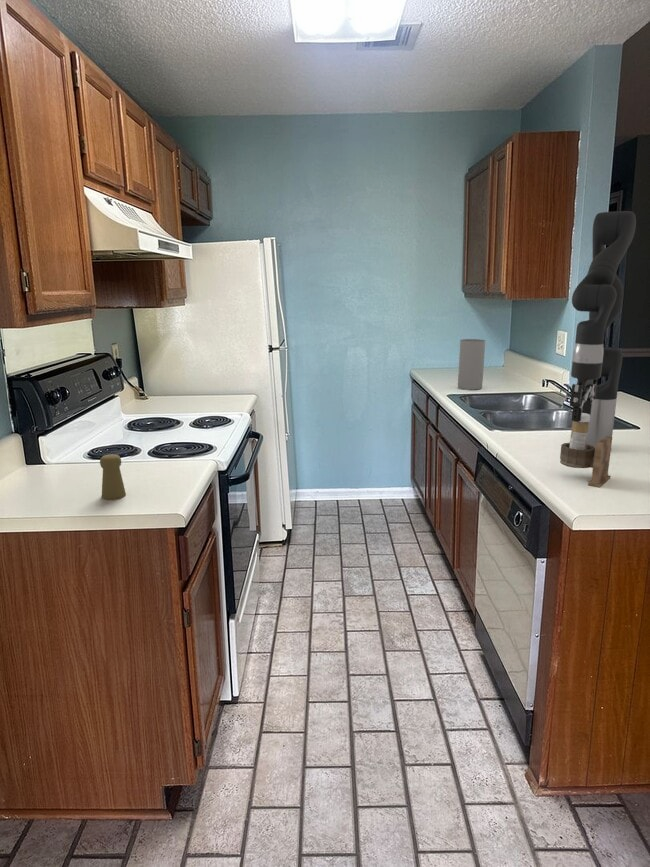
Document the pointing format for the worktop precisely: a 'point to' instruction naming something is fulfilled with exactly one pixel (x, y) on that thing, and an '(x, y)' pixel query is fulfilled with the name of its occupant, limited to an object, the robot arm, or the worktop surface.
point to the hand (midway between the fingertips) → (581, 418)
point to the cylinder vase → (471, 364)
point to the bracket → (590, 459)
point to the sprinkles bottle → (580, 433)
